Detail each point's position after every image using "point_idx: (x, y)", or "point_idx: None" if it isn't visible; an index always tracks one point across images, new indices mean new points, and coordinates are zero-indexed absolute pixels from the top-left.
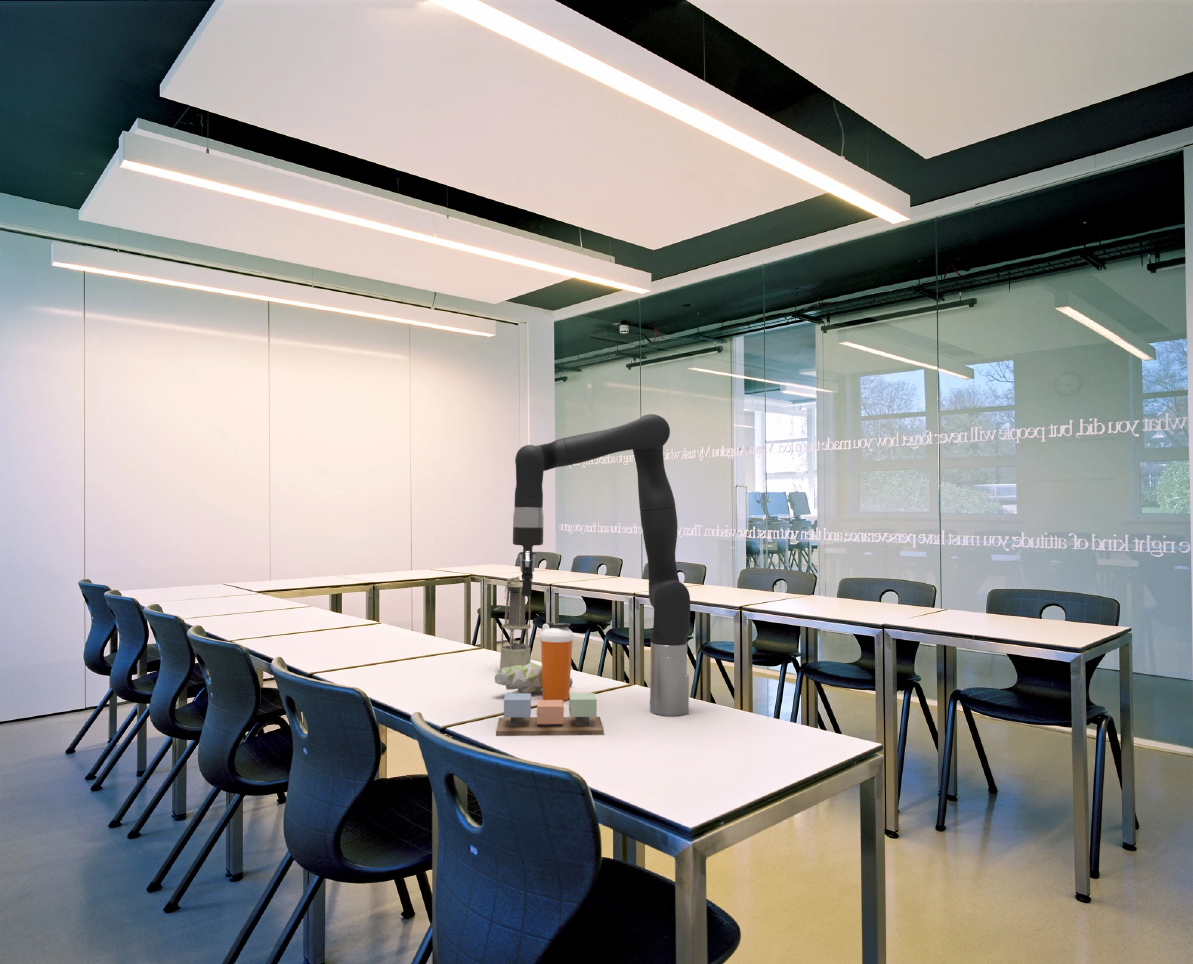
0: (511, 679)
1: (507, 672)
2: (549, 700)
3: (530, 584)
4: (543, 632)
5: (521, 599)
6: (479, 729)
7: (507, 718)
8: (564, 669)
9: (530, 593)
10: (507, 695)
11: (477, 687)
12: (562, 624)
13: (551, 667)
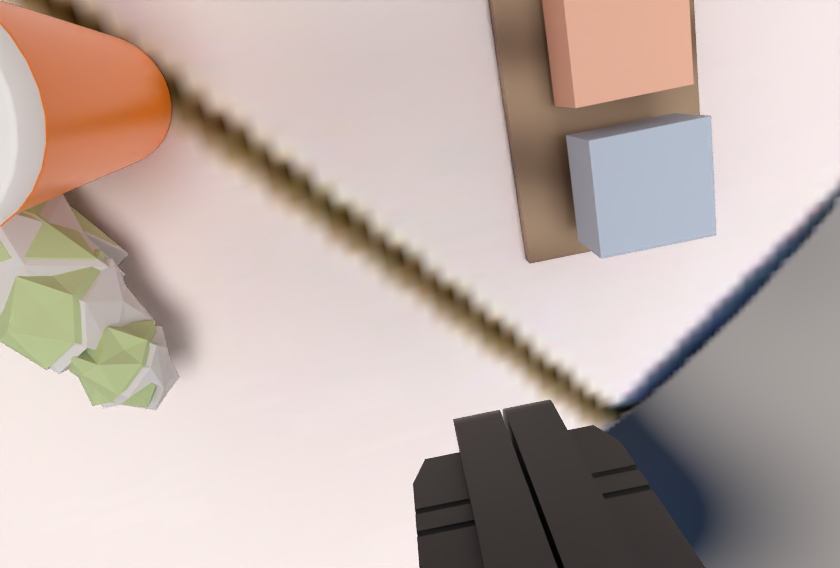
0: (142, 328)
1: (142, 359)
2: (578, 46)
3: (613, 538)
4: None
5: None
6: (624, 299)
7: (539, 228)
8: (84, 39)
9: (556, 426)
10: (636, 240)
11: (28, 474)
12: None
13: (114, 121)
